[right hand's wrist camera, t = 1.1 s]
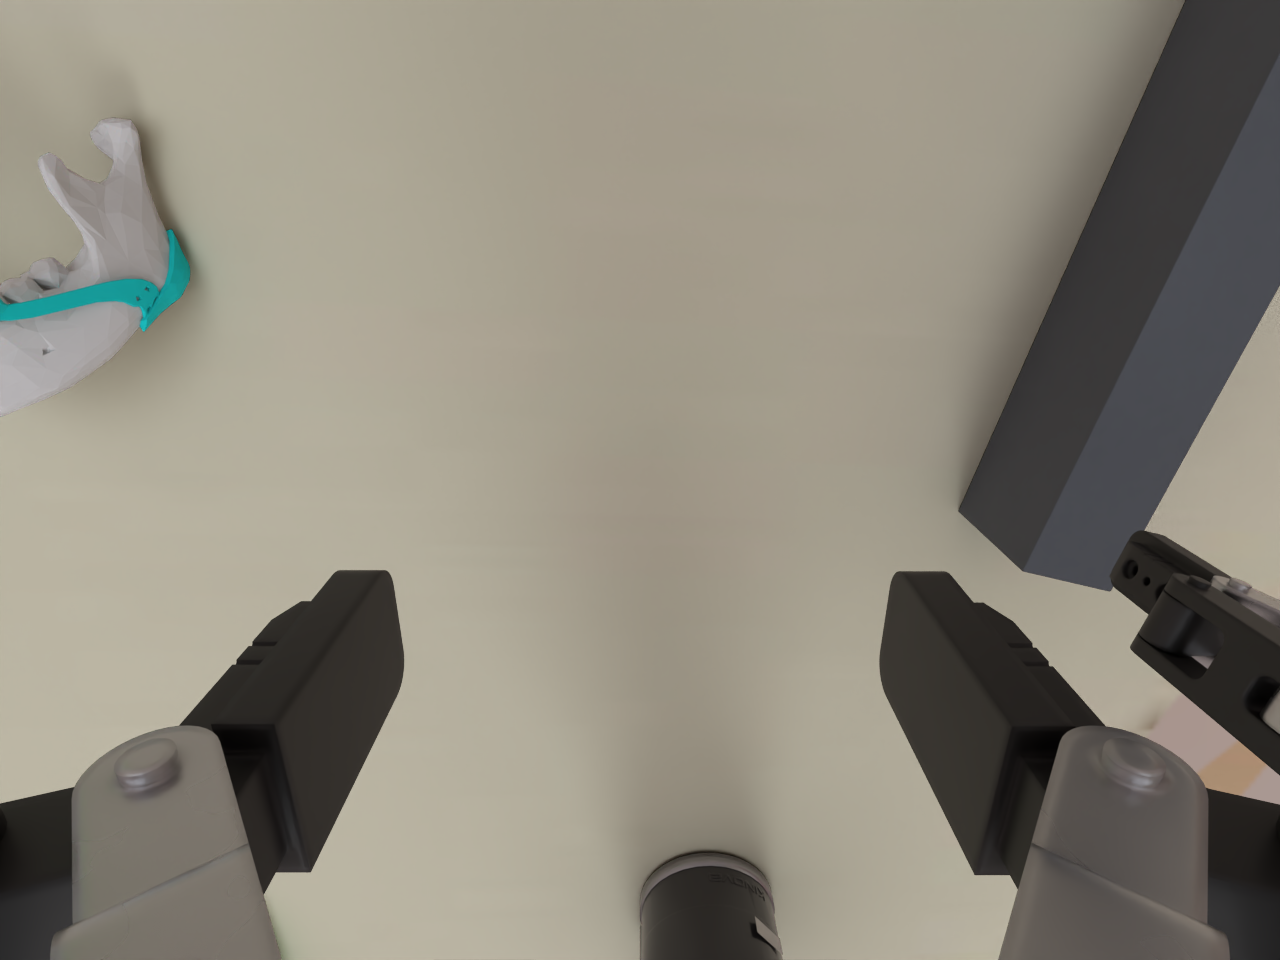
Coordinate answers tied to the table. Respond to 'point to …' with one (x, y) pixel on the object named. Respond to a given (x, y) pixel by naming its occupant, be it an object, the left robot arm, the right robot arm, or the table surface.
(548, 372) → the table surface
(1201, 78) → the post
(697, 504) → the table surface
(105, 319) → the anatomical model
